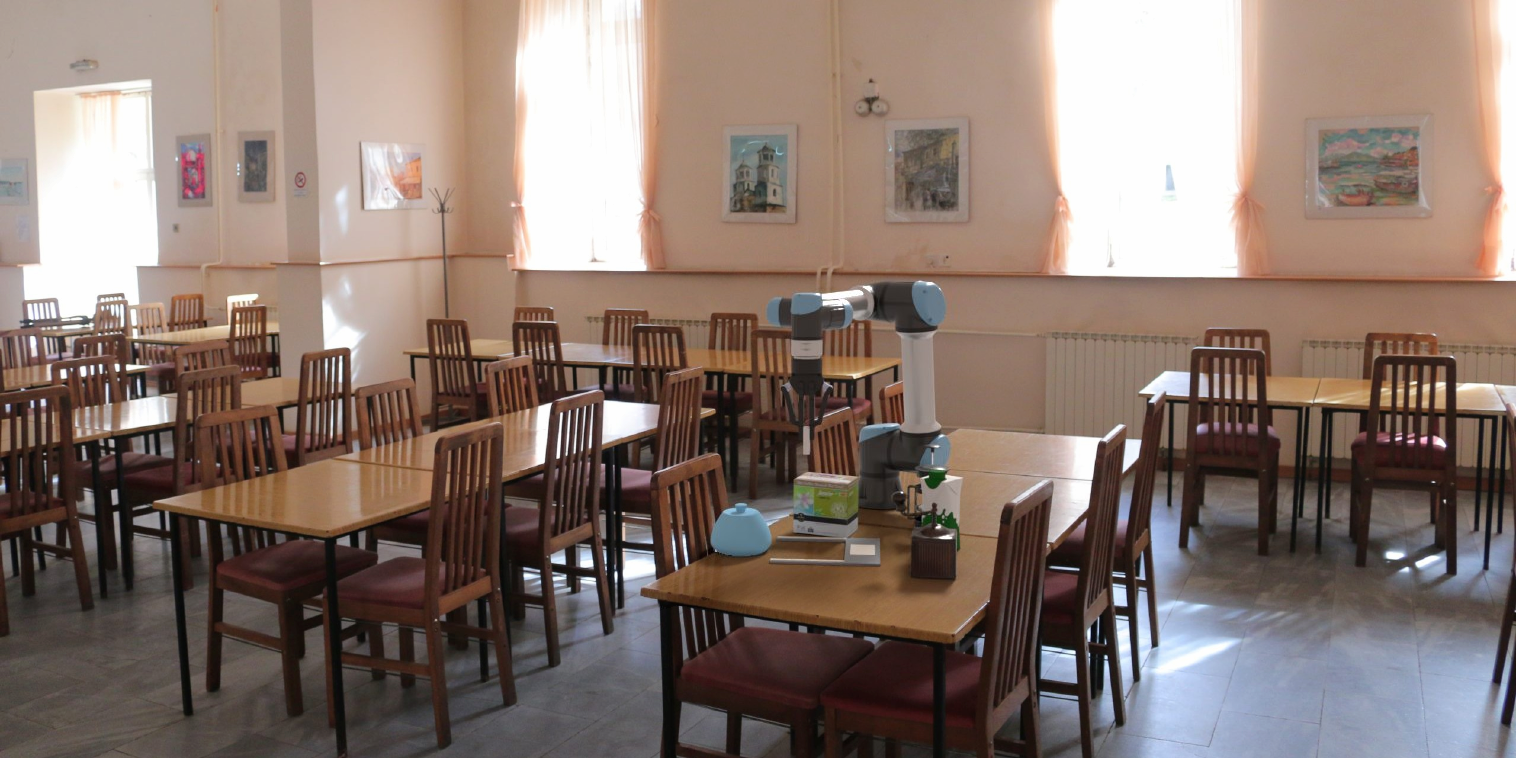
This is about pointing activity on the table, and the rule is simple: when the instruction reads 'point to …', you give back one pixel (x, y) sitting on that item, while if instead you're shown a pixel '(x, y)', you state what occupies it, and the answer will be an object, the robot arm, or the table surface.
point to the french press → (921, 472)
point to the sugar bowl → (741, 532)
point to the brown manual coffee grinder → (930, 545)
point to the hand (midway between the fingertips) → (806, 453)
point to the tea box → (825, 504)
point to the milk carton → (942, 499)
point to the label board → (855, 551)
